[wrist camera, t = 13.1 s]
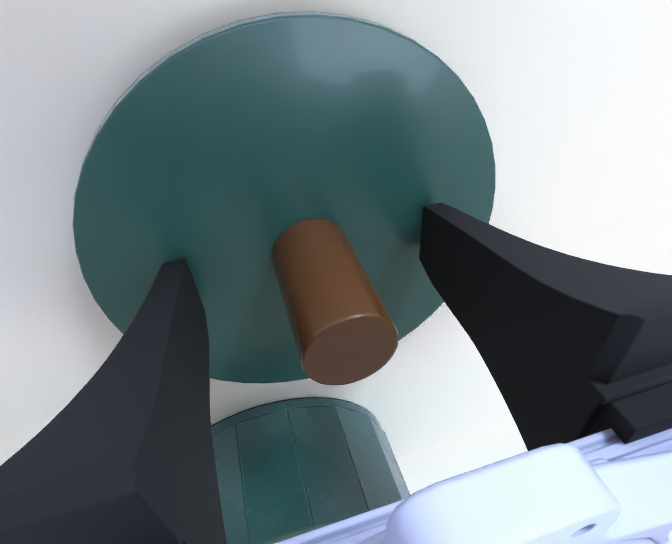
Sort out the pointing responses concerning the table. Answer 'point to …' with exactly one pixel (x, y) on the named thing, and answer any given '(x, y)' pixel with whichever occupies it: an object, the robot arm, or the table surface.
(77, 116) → the table surface
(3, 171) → the table surface
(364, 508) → the tin
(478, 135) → the lid
